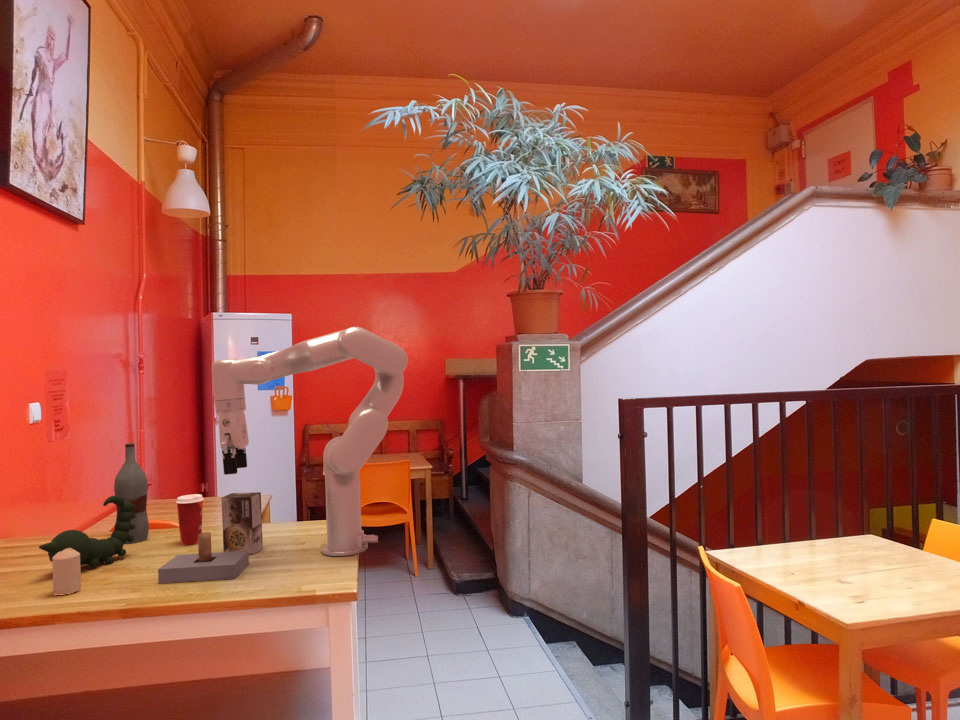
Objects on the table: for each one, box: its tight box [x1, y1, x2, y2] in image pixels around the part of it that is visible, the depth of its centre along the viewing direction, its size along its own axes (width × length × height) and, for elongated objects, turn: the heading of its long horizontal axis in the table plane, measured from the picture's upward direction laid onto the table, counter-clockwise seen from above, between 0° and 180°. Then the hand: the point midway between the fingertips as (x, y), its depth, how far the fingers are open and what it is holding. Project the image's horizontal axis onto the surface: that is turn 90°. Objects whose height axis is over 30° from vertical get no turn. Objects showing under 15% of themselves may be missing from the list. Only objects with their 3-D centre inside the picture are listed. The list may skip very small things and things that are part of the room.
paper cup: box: [175, 493, 205, 547], centre depth 192 cm, size 8×8×14 cm
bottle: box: [113, 442, 150, 545], centre depth 197 cm, size 9×9×30 cm
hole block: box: [157, 551, 250, 584], centre depth 161 cm, size 18×12×4 cm, turn 95°
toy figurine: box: [38, 494, 136, 569], centre depth 170 cm, size 9×19×25 cm
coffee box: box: [220, 491, 264, 555], centre depth 180 cm, size 9×6×16 cm
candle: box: [51, 548, 82, 595], centre depth 151 cm, size 6×6×10 cm
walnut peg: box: [197, 532, 213, 562], centre depth 161 cm, size 3×3×10 cm
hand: (236, 470), depth 168 cm, fingers open, 9 cm apart
